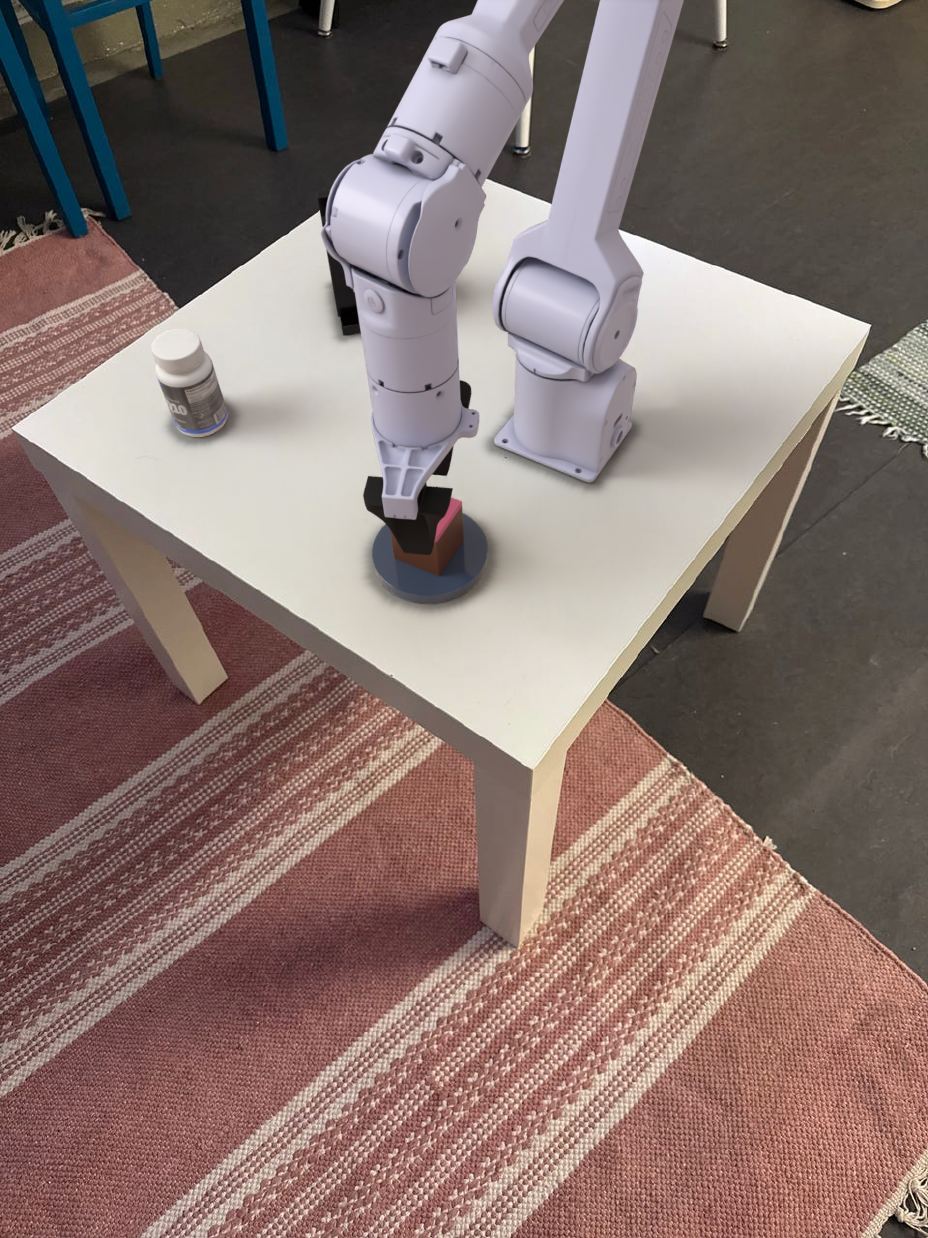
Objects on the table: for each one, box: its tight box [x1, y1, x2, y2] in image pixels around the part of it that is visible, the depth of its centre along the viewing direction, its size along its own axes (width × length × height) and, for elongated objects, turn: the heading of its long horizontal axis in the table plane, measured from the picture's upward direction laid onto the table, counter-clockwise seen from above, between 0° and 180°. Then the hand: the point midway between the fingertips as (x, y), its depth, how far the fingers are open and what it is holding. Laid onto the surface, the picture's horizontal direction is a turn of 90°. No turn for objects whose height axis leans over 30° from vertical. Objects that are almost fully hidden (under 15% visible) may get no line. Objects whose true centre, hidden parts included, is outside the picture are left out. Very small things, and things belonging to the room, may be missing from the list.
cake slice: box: [390, 497, 464, 576], centre depth 69 cm, size 4×4×4 cm
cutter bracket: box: [316, 189, 361, 336], centre depth 86 cm, size 4×8×11 cm, turn 11°
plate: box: [371, 512, 489, 605], centre depth 71 cm, size 9×9×1 cm
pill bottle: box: [150, 328, 229, 438], centre depth 78 cm, size 5×5×8 cm
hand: (426, 509), depth 67 cm, fingers open, 7 cm apart
